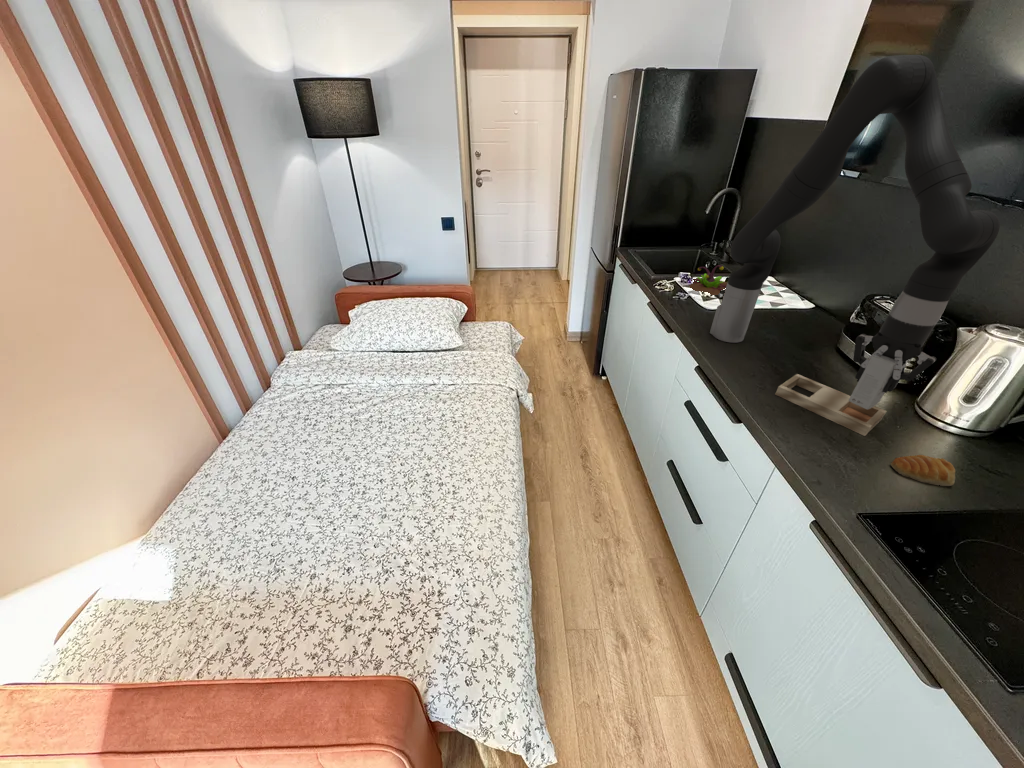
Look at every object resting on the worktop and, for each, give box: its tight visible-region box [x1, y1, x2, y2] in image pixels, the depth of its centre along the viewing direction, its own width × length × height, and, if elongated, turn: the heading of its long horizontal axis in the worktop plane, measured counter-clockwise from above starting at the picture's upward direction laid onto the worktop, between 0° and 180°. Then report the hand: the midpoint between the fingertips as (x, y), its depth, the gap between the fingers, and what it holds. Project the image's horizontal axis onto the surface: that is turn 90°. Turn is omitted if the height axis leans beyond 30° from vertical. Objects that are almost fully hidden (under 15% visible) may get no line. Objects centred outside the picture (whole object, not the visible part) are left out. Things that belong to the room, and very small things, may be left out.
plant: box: [689, 264, 727, 295], centre depth 163 cm, size 20×20×11 cm
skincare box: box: [849, 354, 897, 410], centre depth 93 cm, size 6×4×12 cm
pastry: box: [890, 454, 956, 487], centre depth 84 cm, size 9×7×4 cm
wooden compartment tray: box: [774, 373, 888, 437], centre depth 103 cm, size 20×10×2 cm, turn 36°
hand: (872, 385), depth 94 cm, fingers closed on skincare box, 4 cm apart
